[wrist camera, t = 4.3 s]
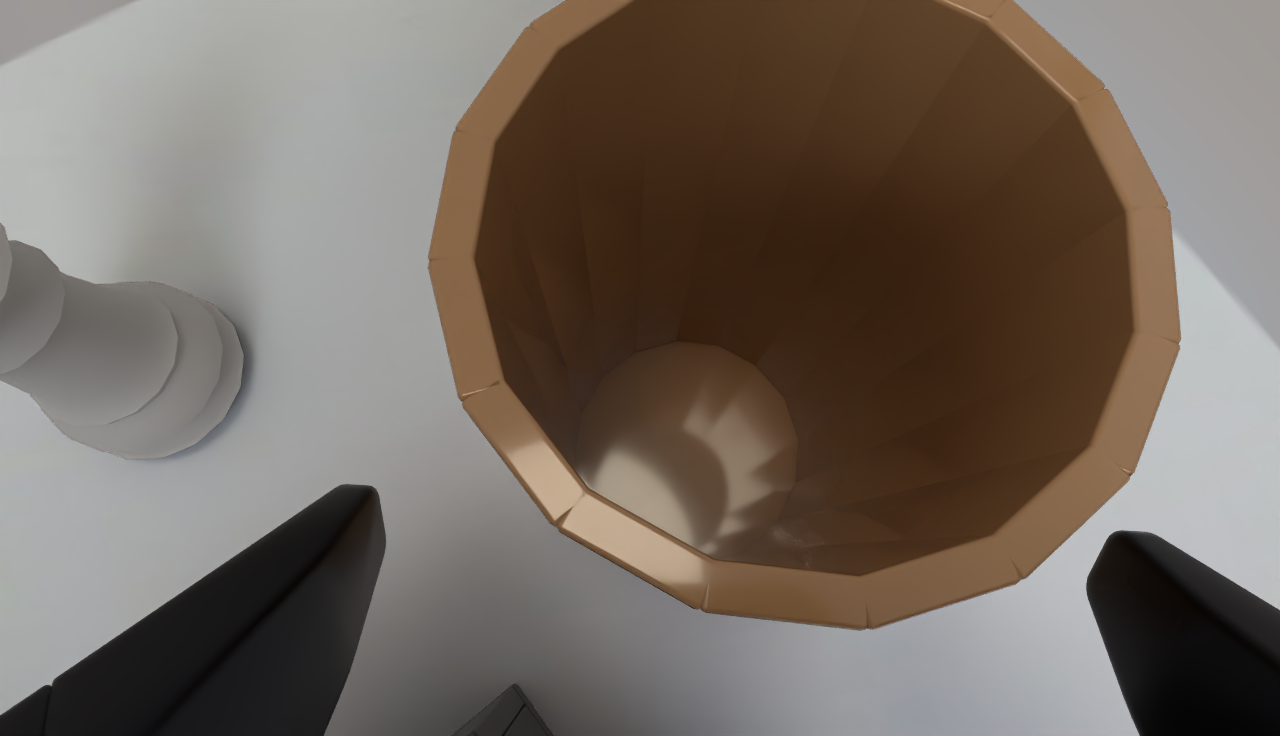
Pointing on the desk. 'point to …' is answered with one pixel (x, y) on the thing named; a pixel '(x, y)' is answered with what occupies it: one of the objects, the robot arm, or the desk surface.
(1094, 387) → the wooden cup
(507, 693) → the bin
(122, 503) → the desk surface
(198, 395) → the rook chess piece
